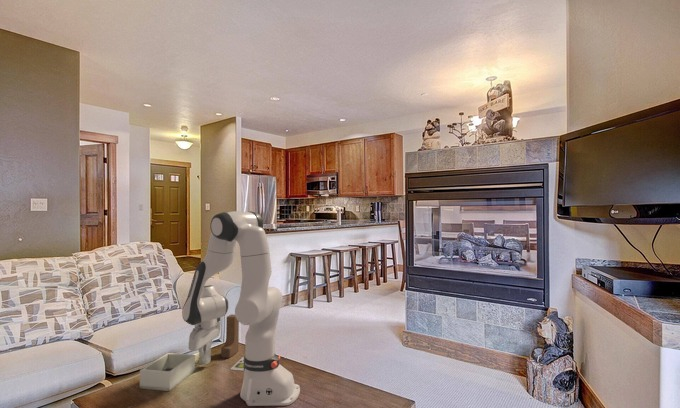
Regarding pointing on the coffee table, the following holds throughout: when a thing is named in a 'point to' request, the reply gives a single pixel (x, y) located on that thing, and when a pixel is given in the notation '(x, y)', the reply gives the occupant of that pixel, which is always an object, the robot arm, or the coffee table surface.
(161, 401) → the coffee table surface
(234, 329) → the wooden block
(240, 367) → the handheld gaming device
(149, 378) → the walled box
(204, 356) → the metal peg
